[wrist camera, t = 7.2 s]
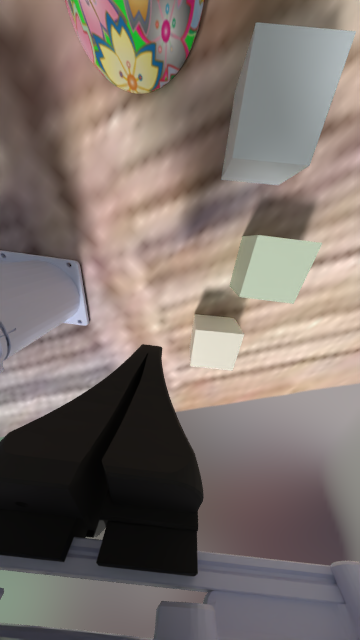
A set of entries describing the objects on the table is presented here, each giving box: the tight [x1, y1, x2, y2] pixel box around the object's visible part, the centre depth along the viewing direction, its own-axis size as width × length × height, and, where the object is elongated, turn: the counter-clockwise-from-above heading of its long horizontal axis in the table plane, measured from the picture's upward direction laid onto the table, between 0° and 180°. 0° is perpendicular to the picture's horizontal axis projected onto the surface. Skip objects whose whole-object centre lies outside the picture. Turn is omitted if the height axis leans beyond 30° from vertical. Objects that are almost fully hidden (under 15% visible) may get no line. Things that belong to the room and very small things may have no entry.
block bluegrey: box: [221, 22, 356, 185], centre depth 11 cm, size 5×5×4 cm
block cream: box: [190, 314, 244, 370], centre depth 19 cm, size 5×5×4 cm
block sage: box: [230, 235, 322, 304], centre depth 15 cm, size 5×5×4 cm
